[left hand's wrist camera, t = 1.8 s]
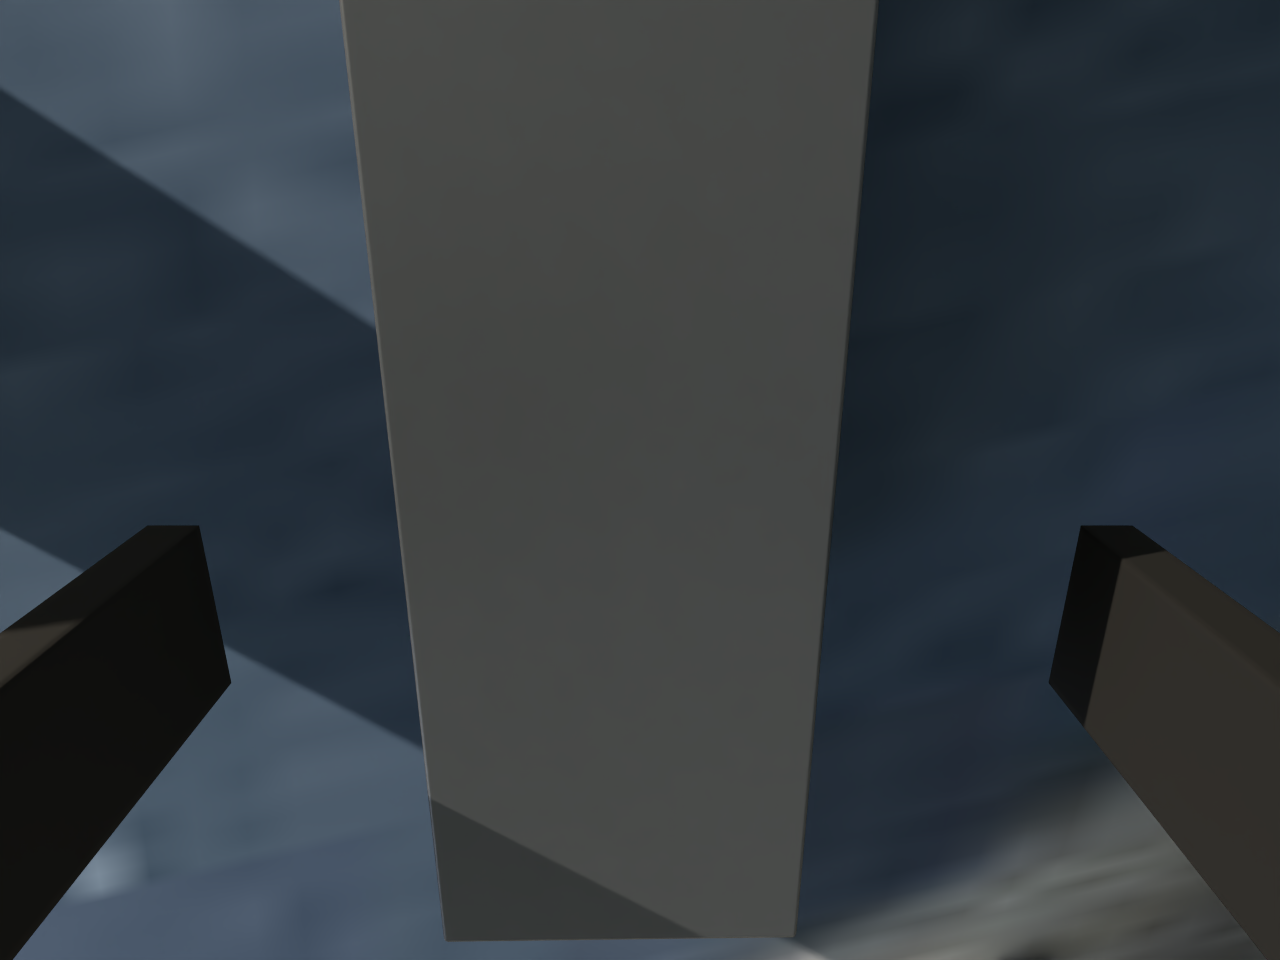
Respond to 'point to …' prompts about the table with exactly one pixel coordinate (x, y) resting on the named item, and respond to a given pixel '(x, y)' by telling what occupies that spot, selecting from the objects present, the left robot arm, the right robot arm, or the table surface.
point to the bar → (614, 436)
